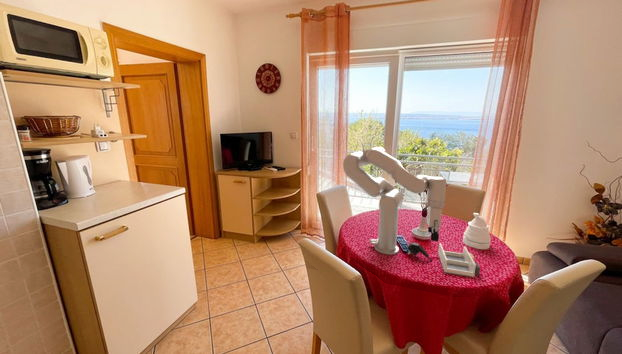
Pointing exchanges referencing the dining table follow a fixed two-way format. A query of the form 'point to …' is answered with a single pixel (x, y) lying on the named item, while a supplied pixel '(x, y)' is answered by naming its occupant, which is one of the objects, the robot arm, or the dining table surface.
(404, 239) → the dining table surface
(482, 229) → the honey pot
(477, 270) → the grey flat block
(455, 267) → the two-cubby white shelf
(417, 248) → the power plug
